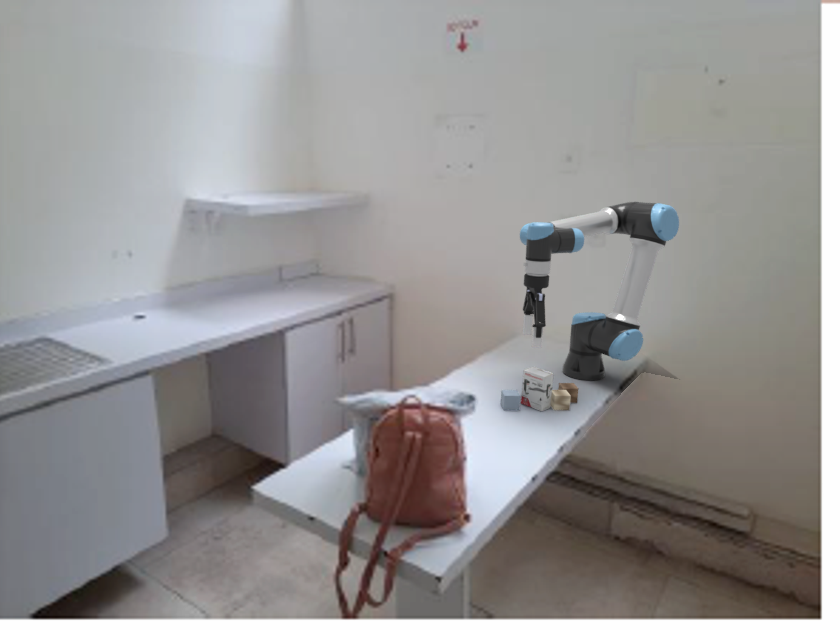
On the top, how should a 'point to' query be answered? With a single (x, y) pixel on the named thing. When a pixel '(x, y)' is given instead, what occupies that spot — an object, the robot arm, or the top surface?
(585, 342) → the robot arm
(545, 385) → the ink box
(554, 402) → the cube maple
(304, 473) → the top surface
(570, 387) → the cube walnut
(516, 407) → the cube slate
